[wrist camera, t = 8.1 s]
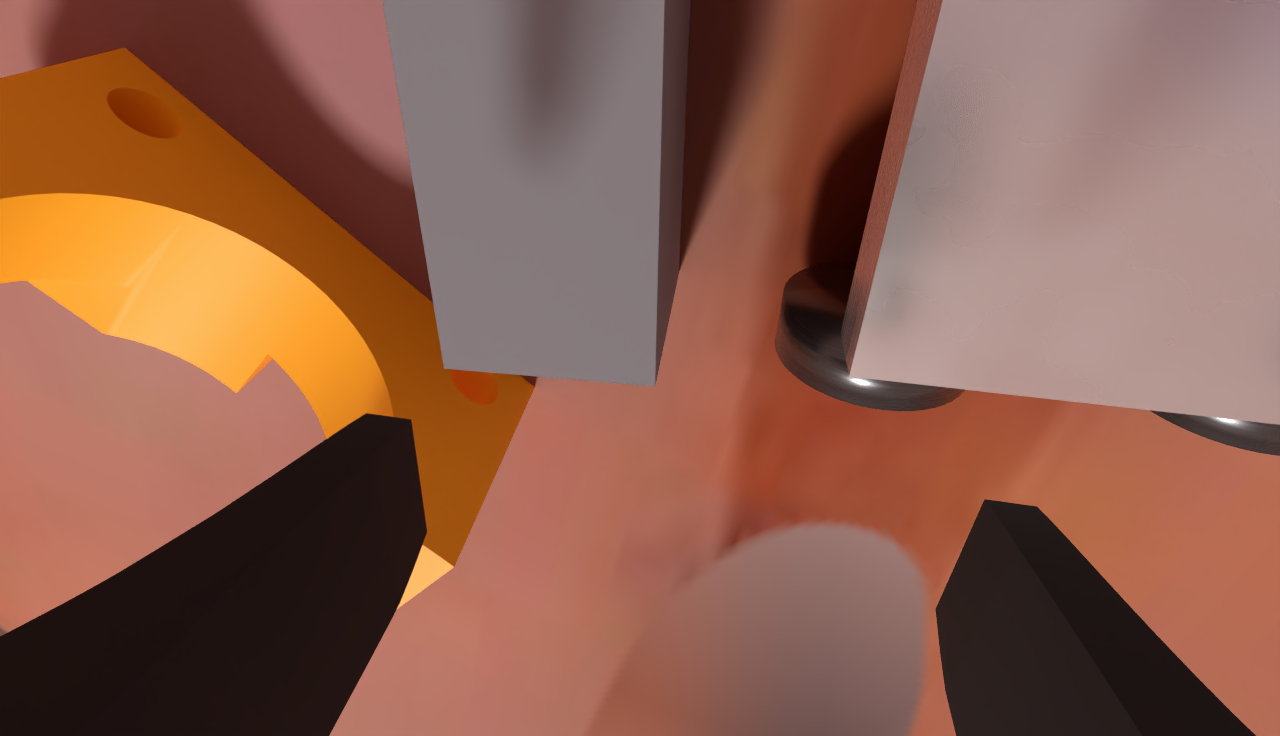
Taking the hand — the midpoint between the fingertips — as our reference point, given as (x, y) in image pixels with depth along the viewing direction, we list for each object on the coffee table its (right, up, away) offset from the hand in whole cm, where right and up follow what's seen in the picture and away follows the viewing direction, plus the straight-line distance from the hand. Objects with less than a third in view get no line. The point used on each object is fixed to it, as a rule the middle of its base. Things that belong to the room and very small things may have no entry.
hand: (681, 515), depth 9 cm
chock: (-2, +9, +5) cm, 11 cm away
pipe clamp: (-9, +4, +10) cm, 14 cm away
